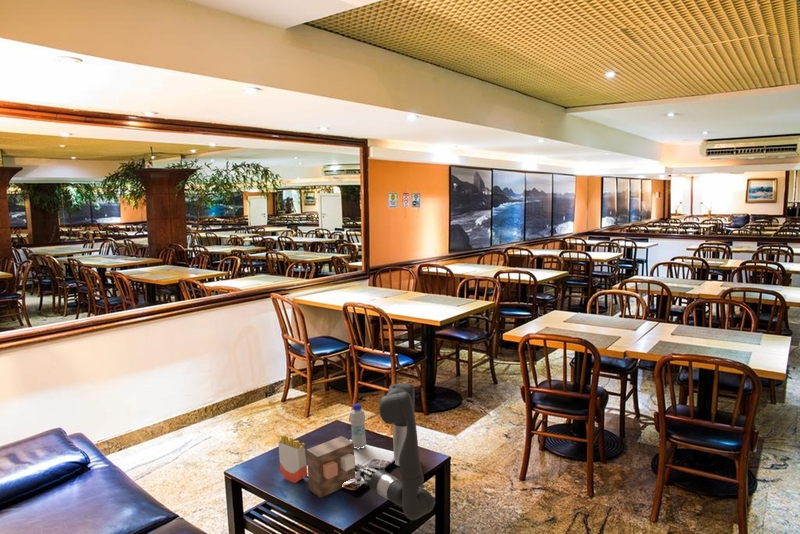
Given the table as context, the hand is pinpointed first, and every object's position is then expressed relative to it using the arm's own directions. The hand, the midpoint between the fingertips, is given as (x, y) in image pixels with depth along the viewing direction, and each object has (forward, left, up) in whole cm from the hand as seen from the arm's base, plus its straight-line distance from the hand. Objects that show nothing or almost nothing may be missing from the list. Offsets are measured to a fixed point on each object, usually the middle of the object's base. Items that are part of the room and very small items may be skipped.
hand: (356, 467), depth 196 cm
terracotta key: (+8, -6, -2) cm, 10 cm away
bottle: (-22, -29, -10) cm, 38 cm away
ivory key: (0, -6, -2) cm, 6 cm away
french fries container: (+12, -26, -10) cm, 30 cm away
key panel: (+4, -11, -10) cm, 15 cm away
